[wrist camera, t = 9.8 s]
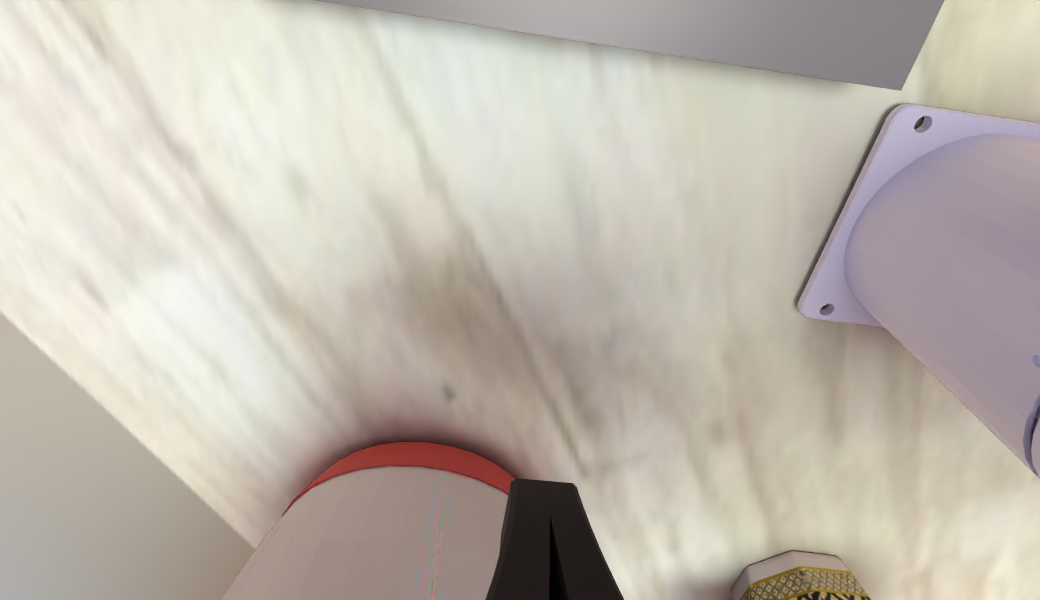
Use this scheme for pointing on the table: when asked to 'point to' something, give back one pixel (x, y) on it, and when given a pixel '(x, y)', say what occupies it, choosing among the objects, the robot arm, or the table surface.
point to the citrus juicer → (386, 530)
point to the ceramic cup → (798, 579)
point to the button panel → (719, 30)
